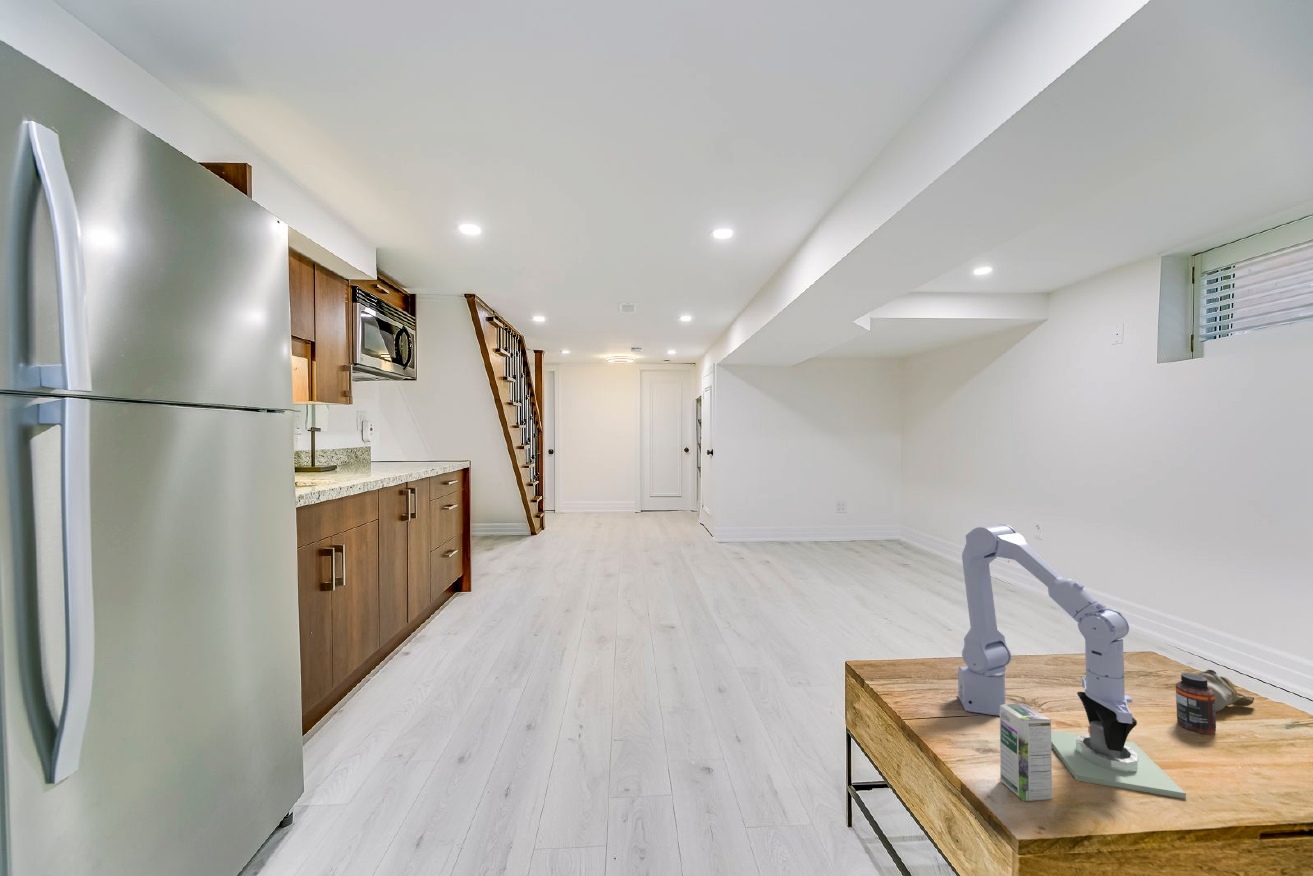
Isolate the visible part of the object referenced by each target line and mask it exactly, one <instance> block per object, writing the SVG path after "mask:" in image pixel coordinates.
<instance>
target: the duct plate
mask: <svg viewBox="0 0 1313 876" xmlns="http://www.w3.org/2000/svg"><path fill="white" fill-rule="evenodd" d="M1079 735H1081V734H1079V733H1072V732H1064V731H1059V730H1058V731H1057V730H1052V729H1051V748H1052V747H1053V748H1054V749H1053V748H1052V749H1053V750H1054V751H1056V752H1055V753H1056V755H1059V756H1058V757H1059V758H1060V760H1061V761H1062V763H1063V764H1064V765H1065V767H1066V768H1067V769H1068V771H1069V772H1070V773H1071V775H1072V777H1074V779H1075V780H1076V781H1078V782H1084V783H1090V784H1096V785H1101V786H1102V785H1103V786H1107V787H1113V788H1120V789H1123V790H1124V789H1125V790H1130V791H1138V792H1143V793H1148V792H1149V793H1150V794H1155V795H1161V796H1168V797H1172V798H1178V799H1185V800H1186V799H1187V794H1186V792H1185V791H1184V790H1183V789H1182V788H1181V787H1180V786H1179V785H1178V784H1177V783H1176V782H1175V781H1174V779H1172V778H1171V777H1170V776H1169V775H1168V774H1167V773H1166V772H1165V771H1164V770H1163V769H1162V768H1161V767H1160V766H1159V765H1158V764H1157V763H1156V762H1155V761H1153V760H1152V759H1151V758H1150V757H1149V755H1148V754H1146V753H1145V751H1143V750H1142V748H1141V747H1139V746H1138V745H1137V744H1136V743H1135V742H1133V741H1127V740H1126V742H1125V745H1126V746H1128V747H1130V748H1131V749H1132V750H1133V751H1134V752H1135V753H1136V754H1137V755H1138V758H1139V767H1138V770H1137V772H1132V773H1122V772H1116V771H1111V770H1108V769H1105V768H1102V767H1100V766H1097V765H1094V764H1093V763H1091V762H1089V761H1088V760H1086V759H1084V758H1082V757H1081V755H1080V754H1079V753H1078V752H1077V750H1076V739H1077V737H1078V736H1079ZM1088 748H1089V749H1090V747H1088ZM1121 759H1126V758H1124V757H1122V756H1121Z"/></svg>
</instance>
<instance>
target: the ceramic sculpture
mask: <svg viewBox="0 0 1313 876" xmlns="http://www.w3.org/2000/svg"><path fill="white" fill-rule="evenodd" d="M1197 675H1200V676H1203V677H1205V678H1206V679H1207V684H1208V685H1207V687H1208V688H1210V689H1211V690H1212V691H1213V692H1214V696H1215V713H1216V712H1217V713H1218V712H1221V711H1222V710H1223V709H1224V708H1226V707H1227V706H1231V705H1233V706H1236V707H1248V706H1250V705H1252V704H1254V701H1255V697H1253V696H1246V695H1244V694H1241V693H1239V692H1238V691H1237V689H1236V688H1235V686H1234V684H1233V682H1232V681H1231V680H1229V679H1228V678H1227V677H1226V676H1224V675H1221V674H1217V672H1216V671H1215V670H1213V669H1207V670H1205V671H1201V672H1199V673H1198V674H1197Z"/></svg>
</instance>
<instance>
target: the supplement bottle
mask: <svg viewBox="0 0 1313 876" xmlns="http://www.w3.org/2000/svg"><path fill="white" fill-rule="evenodd" d="M1180 677H1181V678H1180V679H1181V680H1180V681H1178V682H1177V683H1176V684H1175V700H1176V701H1175V702H1176V706H1175V707H1176V722H1177V723H1178V724H1179V725H1180V726H1181V727H1183V728H1185V729H1187V730H1189V731H1192V732H1194V733H1195V732H1196V733H1200V734H1205V735H1206V734H1209V735H1212V734H1214V733H1216V732H1217V719H1216V718H1217V717H1216V712H1215V696H1214V692H1213V691H1212V690H1211V689H1210V688H1208V687H1207V685H1208V684H1207V679H1206V678H1205V677H1203V676H1200V675H1198V674H1197V673H1192V672H1182V673H1181V674H1180Z"/></svg>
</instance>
